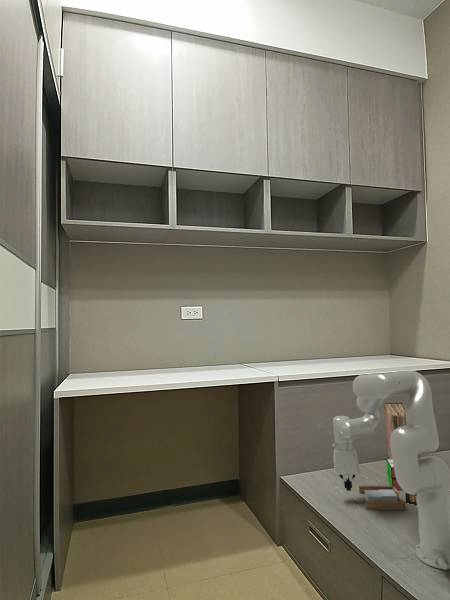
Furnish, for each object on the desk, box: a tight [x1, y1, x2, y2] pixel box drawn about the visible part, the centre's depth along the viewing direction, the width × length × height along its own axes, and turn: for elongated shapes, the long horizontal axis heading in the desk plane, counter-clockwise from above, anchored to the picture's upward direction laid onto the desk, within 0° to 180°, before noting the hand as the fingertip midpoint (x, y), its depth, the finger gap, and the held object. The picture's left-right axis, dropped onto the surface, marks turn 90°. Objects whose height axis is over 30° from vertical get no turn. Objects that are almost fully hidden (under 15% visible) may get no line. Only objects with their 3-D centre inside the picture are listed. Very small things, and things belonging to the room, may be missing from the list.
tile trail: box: [364, 490, 383, 502], centre depth 159 cm, size 6×6×4 cm
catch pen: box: [358, 485, 407, 511], centre depth 159 cm, size 15×15×3 cm
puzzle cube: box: [385, 458, 403, 491], centre depth 172 cm, size 10×10×10 cm
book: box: [383, 402, 407, 459], centre depth 192 cm, size 25×9×30 cm, turn 165°
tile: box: [379, 490, 398, 501], centre depth 159 cm, size 6×6×4 cm
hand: (348, 489), depth 161 cm, fingers closed
